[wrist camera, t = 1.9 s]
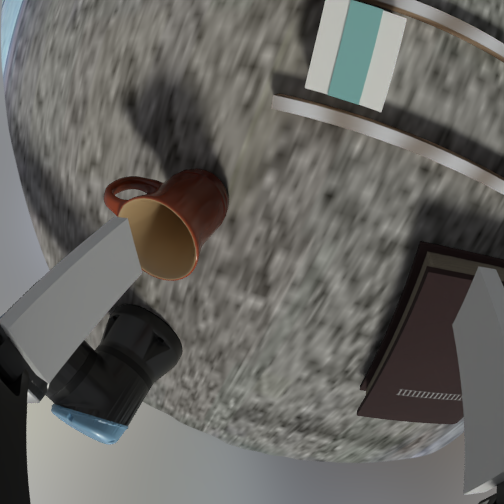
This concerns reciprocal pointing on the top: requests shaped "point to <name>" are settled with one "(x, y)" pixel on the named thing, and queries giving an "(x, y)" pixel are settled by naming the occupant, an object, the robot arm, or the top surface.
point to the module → (355, 52)
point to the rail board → (407, 5)
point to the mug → (170, 218)
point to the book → (424, 341)
